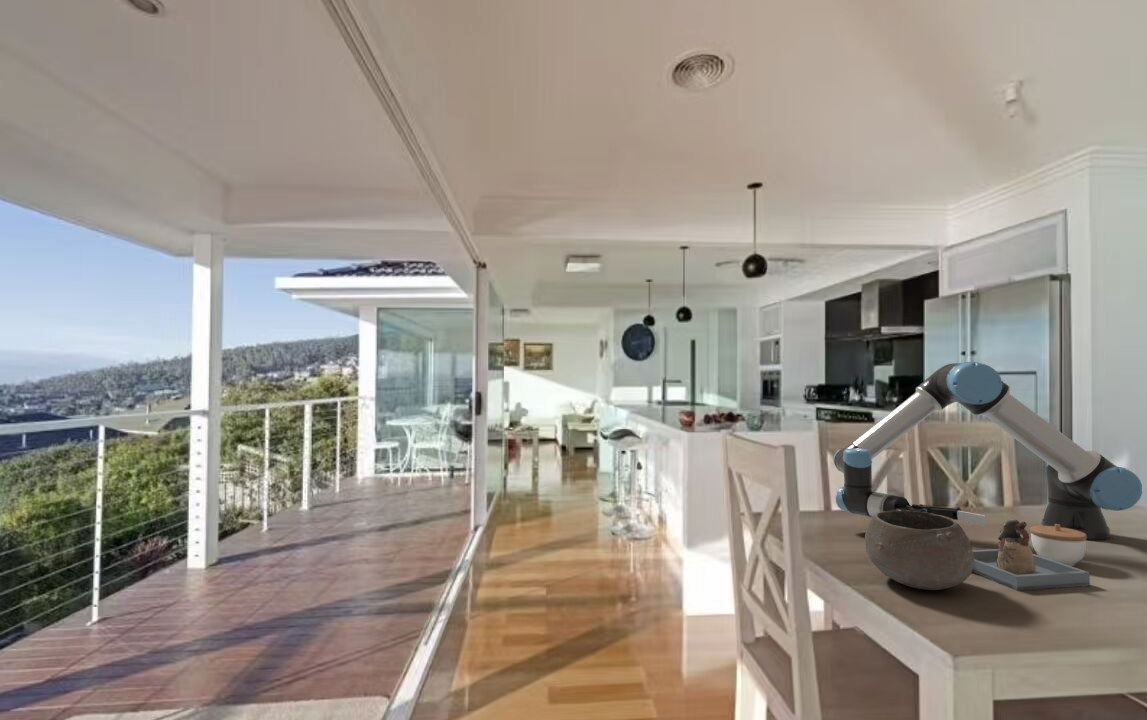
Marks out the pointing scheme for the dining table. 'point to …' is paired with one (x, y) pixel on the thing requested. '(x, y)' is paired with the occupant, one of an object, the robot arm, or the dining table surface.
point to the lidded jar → (1059, 543)
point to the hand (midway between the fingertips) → (970, 524)
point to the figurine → (1015, 549)
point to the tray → (1044, 576)
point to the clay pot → (919, 549)
